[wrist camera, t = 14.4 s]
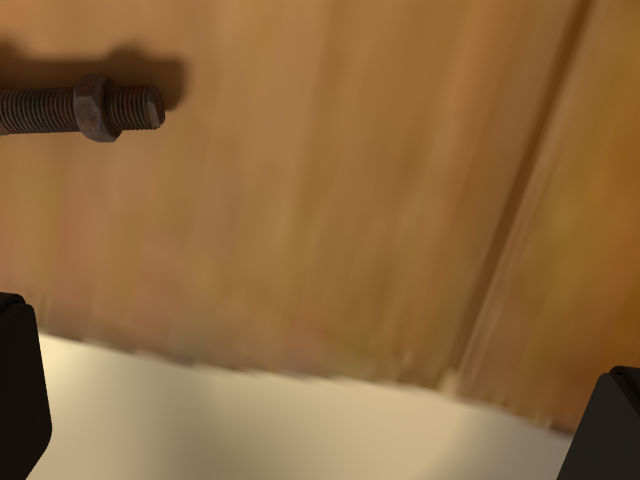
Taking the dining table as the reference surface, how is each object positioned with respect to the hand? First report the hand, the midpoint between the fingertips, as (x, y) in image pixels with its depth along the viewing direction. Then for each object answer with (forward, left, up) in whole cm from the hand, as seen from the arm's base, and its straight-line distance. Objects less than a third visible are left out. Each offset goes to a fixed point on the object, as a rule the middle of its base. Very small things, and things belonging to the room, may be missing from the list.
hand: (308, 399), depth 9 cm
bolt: (+21, +4, -34) cm, 40 cm away
